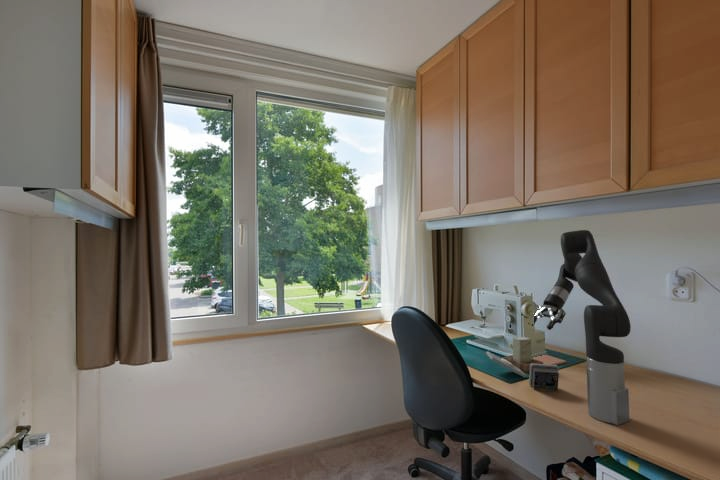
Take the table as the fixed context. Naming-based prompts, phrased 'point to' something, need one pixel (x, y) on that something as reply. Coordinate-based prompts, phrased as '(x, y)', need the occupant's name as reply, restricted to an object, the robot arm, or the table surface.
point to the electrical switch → (544, 377)
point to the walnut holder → (522, 366)
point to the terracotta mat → (549, 360)
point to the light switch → (505, 364)
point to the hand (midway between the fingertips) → (539, 326)
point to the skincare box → (522, 349)
